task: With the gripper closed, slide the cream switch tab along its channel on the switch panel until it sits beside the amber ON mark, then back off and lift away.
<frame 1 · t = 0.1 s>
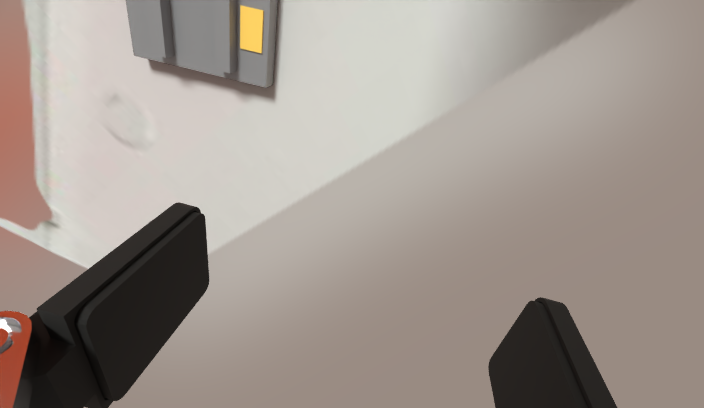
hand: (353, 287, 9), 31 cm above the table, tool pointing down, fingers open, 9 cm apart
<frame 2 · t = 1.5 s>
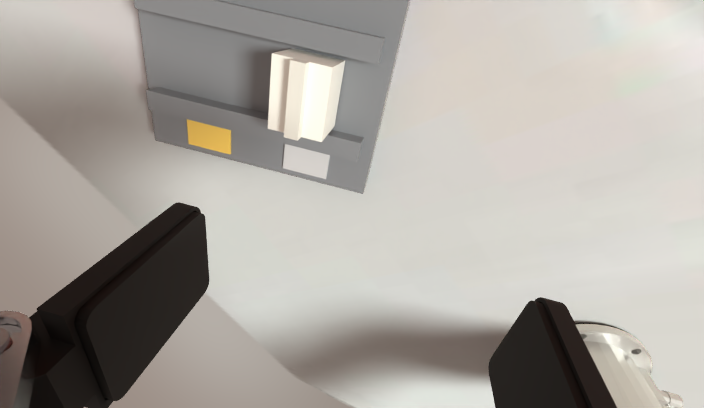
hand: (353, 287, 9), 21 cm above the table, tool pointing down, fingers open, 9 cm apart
switch panel: (270, 71, 27), on the table
switch tab: (305, 95, 23), point 5 cm above the table, slide at 0.0 cm
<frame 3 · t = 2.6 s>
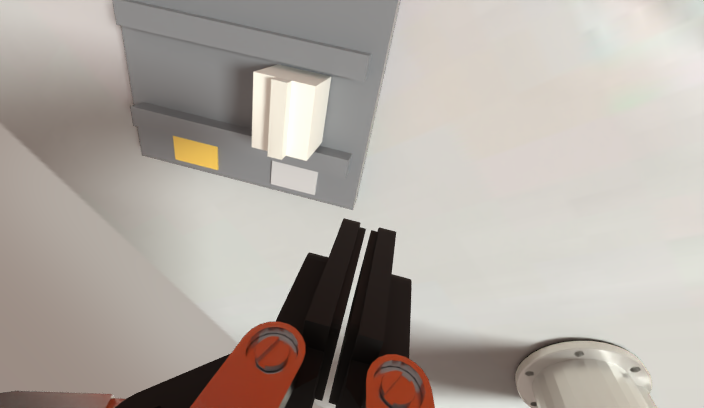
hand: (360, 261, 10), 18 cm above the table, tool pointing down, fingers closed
switch panel: (257, 86, 27), on the table
switch tab: (290, 112, 23), point 5 cm above the table, slide at 0.0 cm
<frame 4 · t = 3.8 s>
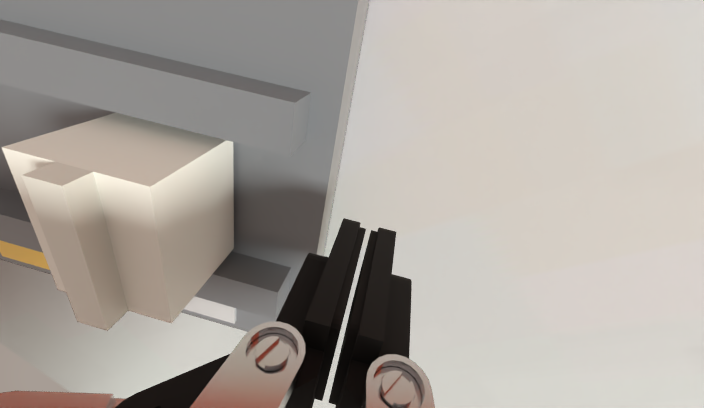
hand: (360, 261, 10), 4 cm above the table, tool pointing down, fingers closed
switch panel: (123, 139, 15), on the table
switch tab: (139, 216, 11), point 5 cm above the table, slide at 0.0 cm
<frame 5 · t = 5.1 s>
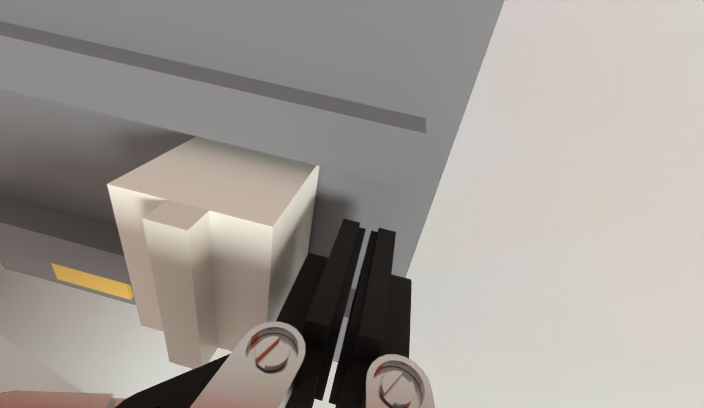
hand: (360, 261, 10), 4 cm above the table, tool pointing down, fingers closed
switch panel: (191, 160, 14), on the table
switch tab: (226, 247, 10), point 5 cm above the table, slide at 0.4 cm, touching gripper
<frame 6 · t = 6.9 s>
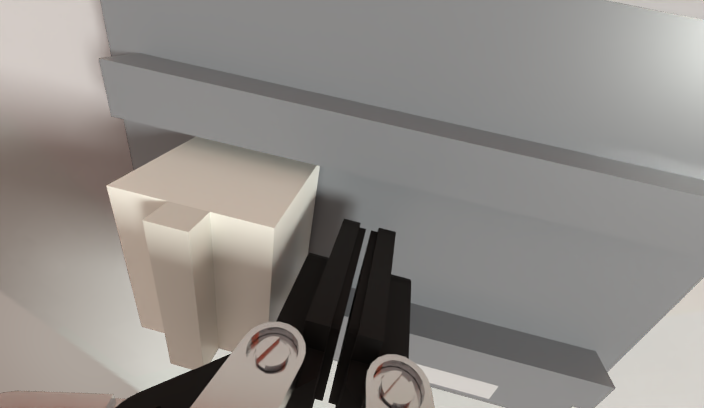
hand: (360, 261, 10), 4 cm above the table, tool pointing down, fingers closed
switch panel: (393, 209, 14), on the table
switch tab: (227, 248, 10), point 5 cm above the table, slide at 9.4 cm, touching gripper
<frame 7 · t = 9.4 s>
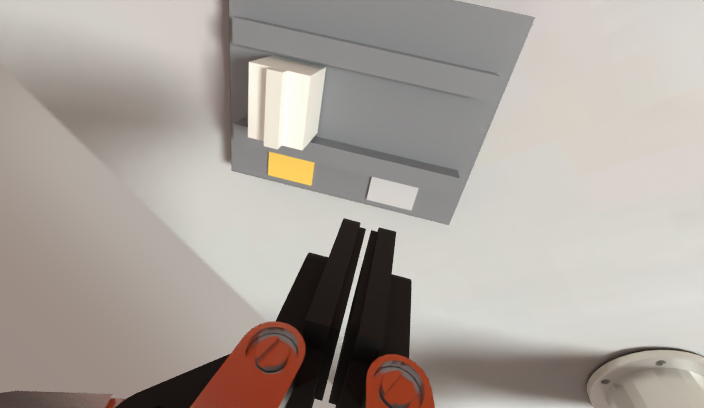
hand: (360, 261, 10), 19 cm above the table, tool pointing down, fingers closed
switch panel: (358, 102, 27), on the table
switch tab: (285, 103, 23), point 5 cm above the table, slide at 9.1 cm
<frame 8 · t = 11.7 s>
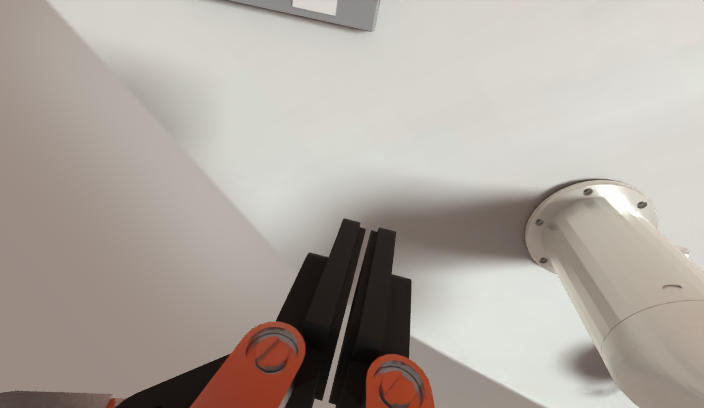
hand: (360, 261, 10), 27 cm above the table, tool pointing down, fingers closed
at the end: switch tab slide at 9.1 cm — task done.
